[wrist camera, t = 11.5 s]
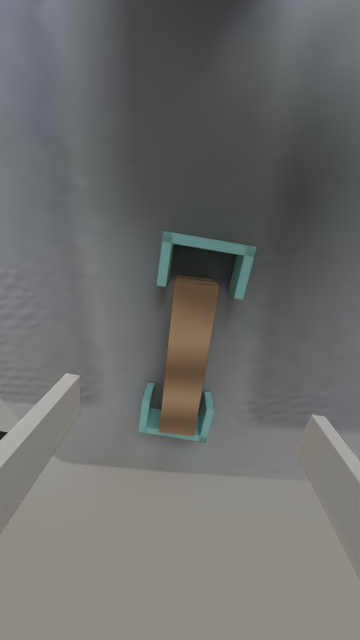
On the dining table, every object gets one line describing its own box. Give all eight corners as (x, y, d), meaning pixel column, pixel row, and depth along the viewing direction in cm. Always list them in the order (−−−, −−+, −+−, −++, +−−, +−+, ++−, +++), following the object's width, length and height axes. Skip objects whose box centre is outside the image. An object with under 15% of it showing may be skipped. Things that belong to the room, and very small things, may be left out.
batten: (177, 274, 21) (174, 281, 16) (212, 278, 21) (219, 286, 16) (164, 398, 26) (159, 432, 21) (193, 402, 26) (193, 436, 21)
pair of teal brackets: (167, 233, 20) (163, 230, 17) (247, 247, 20) (256, 246, 17) (143, 412, 26) (138, 431, 23) (204, 421, 26) (205, 442, 23)
